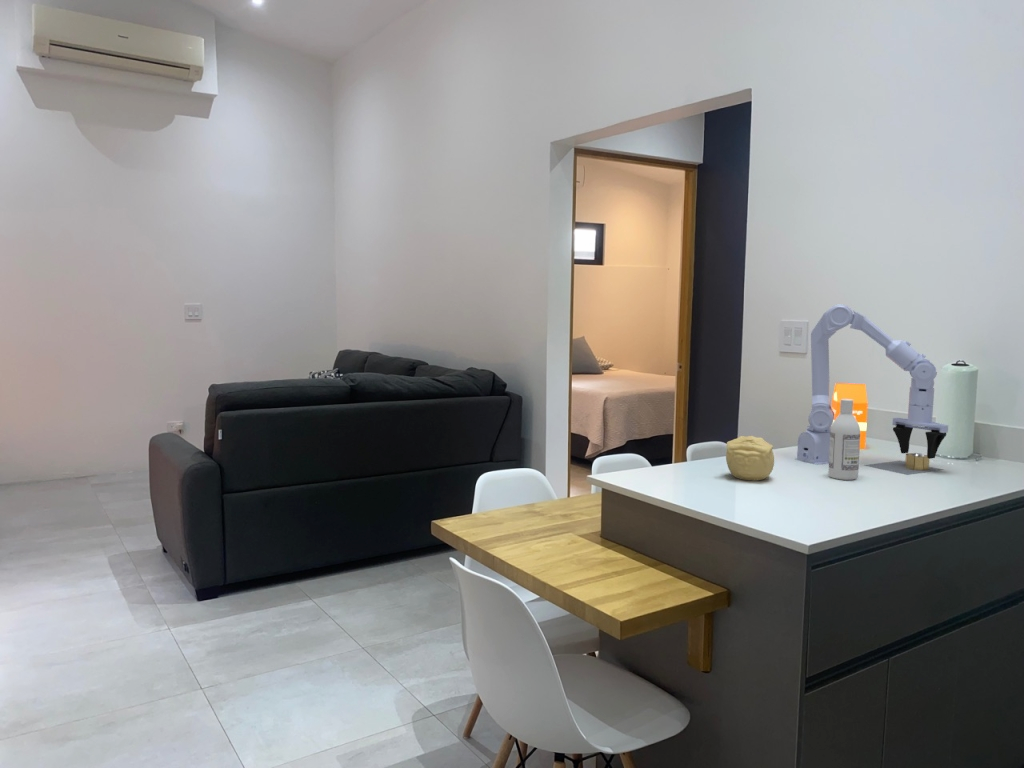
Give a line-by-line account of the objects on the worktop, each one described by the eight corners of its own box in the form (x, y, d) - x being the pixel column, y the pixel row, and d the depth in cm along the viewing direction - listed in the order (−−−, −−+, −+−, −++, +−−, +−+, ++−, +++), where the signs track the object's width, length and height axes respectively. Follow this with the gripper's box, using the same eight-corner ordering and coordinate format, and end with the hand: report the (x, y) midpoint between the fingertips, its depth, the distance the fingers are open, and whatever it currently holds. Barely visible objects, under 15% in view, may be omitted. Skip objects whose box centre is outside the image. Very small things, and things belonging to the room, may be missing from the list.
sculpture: (721, 479, 187) (722, 437, 186) (731, 470, 198) (732, 430, 196) (769, 485, 182) (771, 441, 181) (776, 475, 192) (778, 434, 191)
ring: (919, 471, 197) (920, 457, 197) (901, 467, 202) (901, 454, 201) (932, 469, 199) (933, 456, 199) (913, 465, 204) (914, 452, 204)
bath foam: (863, 478, 190) (867, 399, 188) (849, 481, 186) (853, 401, 184) (836, 473, 195) (840, 397, 194) (823, 477, 191) (826, 399, 189)
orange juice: (865, 450, 228) (869, 385, 226) (834, 449, 230) (837, 384, 228) (858, 445, 236) (862, 382, 234) (829, 444, 238) (832, 381, 236)
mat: (907, 476, 193) (907, 474, 193) (863, 466, 204) (863, 465, 204) (944, 471, 199) (944, 469, 199) (899, 461, 211) (899, 460, 211)
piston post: (917, 469, 199) (918, 454, 199) (910, 468, 201) (911, 453, 201) (923, 468, 200) (924, 454, 200) (915, 467, 202) (916, 452, 202)
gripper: (956, 407, 194) (953, 459, 195) (905, 401, 207) (902, 449, 208) (939, 409, 191) (936, 461, 192) (888, 402, 204) (885, 451, 205)
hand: (917, 455), depth 200 cm, fingers open, 7 cm apart
